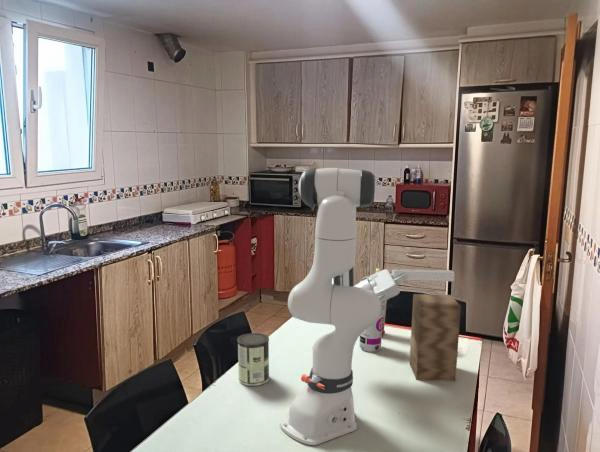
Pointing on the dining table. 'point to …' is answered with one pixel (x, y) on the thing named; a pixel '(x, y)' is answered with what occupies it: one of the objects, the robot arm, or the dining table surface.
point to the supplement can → (372, 337)
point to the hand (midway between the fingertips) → (405, 273)
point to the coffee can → (253, 359)
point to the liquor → (382, 307)
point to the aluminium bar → (424, 274)
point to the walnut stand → (434, 337)
